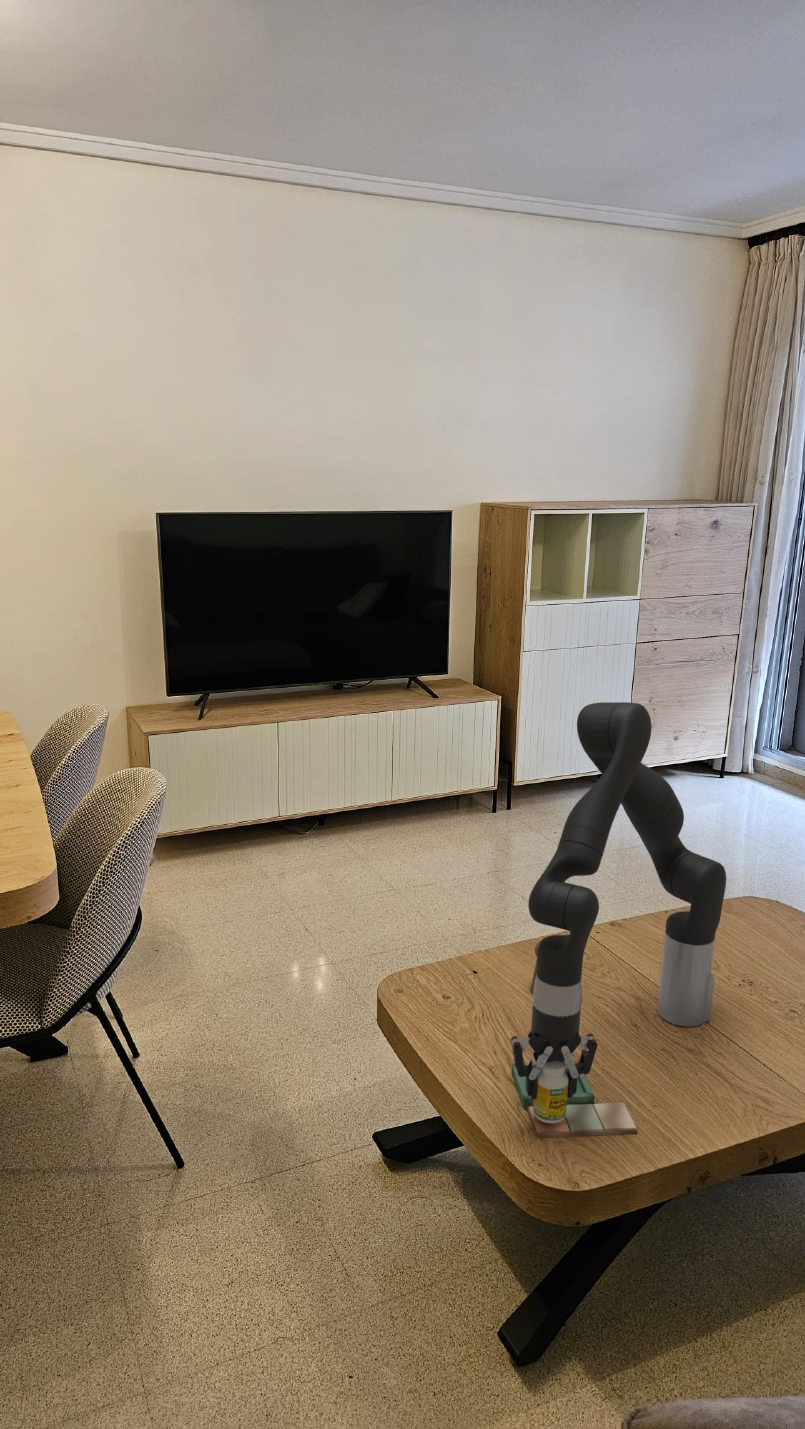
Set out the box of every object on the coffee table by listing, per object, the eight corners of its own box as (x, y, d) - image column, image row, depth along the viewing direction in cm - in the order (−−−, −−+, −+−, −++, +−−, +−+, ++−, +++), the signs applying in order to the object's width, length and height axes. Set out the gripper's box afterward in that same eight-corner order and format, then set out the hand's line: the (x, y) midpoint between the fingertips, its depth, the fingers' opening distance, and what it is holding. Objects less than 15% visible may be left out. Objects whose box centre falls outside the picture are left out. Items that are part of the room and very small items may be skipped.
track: (623, 1106, 165) (624, 1101, 165) (637, 1133, 159) (637, 1128, 158) (527, 1109, 164) (527, 1105, 163) (536, 1137, 157) (537, 1132, 157)
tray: (577, 1070, 175) (578, 1061, 174) (593, 1105, 165) (594, 1096, 165) (511, 1072, 174) (512, 1063, 173) (523, 1108, 164) (524, 1098, 164)
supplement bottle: (550, 1099, 164) (554, 1048, 161) (572, 1117, 159) (577, 1065, 157) (525, 1110, 161) (529, 1058, 159) (547, 1128, 157) (551, 1075, 154)
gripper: (594, 988, 160) (587, 1079, 164) (507, 990, 158) (502, 1082, 162) (608, 1013, 152) (600, 1108, 157) (517, 1015, 151) (511, 1111, 155)
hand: (550, 1094), depth 159 cm, fingers closed on supplement bottle, 5 cm apart
